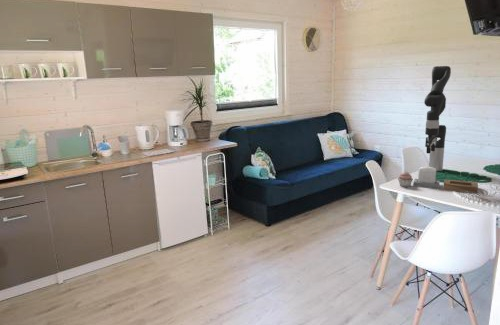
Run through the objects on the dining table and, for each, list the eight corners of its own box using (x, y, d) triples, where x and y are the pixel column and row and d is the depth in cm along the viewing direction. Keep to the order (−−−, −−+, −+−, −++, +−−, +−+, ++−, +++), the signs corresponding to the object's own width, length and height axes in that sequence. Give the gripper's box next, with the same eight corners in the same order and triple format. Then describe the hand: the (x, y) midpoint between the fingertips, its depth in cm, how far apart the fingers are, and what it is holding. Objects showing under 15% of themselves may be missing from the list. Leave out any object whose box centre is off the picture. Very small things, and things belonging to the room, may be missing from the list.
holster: (414, 182, 240) (415, 178, 239) (439, 184, 232) (439, 180, 232) (413, 185, 233) (413, 182, 232) (438, 188, 225) (438, 184, 225)
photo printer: (434, 184, 232) (436, 166, 229) (435, 186, 229) (436, 168, 226) (417, 183, 236) (418, 165, 233) (417, 185, 233) (418, 167, 230)
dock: (444, 184, 232) (444, 179, 231) (477, 187, 223) (477, 182, 222) (443, 189, 223) (443, 184, 222) (477, 193, 214) (477, 187, 213)
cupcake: (399, 182, 240) (400, 168, 238) (414, 184, 234) (415, 170, 232) (395, 186, 233) (395, 171, 231) (410, 188, 227) (411, 173, 225)
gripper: (429, 125, 236) (428, 150, 239) (422, 128, 226) (420, 153, 229) (442, 126, 230) (440, 151, 234) (434, 128, 221) (433, 154, 224)
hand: (430, 152), depth 231 cm, fingers open, 8 cm apart
